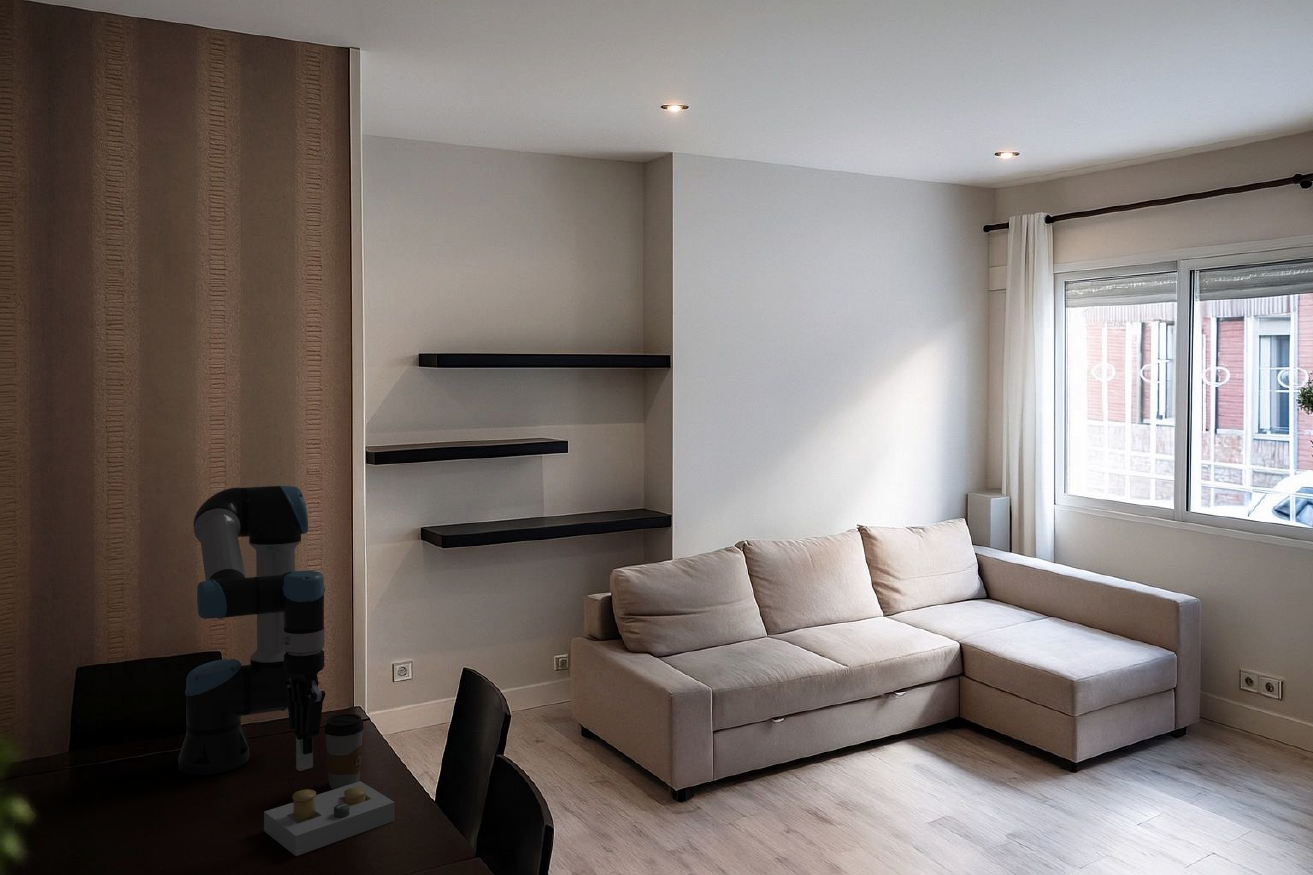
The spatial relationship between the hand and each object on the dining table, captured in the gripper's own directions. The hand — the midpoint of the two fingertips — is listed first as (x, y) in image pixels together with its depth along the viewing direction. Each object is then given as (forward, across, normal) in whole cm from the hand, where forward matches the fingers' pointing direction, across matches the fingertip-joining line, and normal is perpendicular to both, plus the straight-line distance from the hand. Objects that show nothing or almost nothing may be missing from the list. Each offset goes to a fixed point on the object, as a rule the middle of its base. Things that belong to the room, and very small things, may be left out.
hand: (304, 767), depth 187 cm
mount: (+14, 0, +6) cm, 15 cm away
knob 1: (+10, 0, 0) cm, 10 cm away
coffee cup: (+14, -16, +17) cm, 27 cm away
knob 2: (+12, 0, +11) cm, 16 cm away
